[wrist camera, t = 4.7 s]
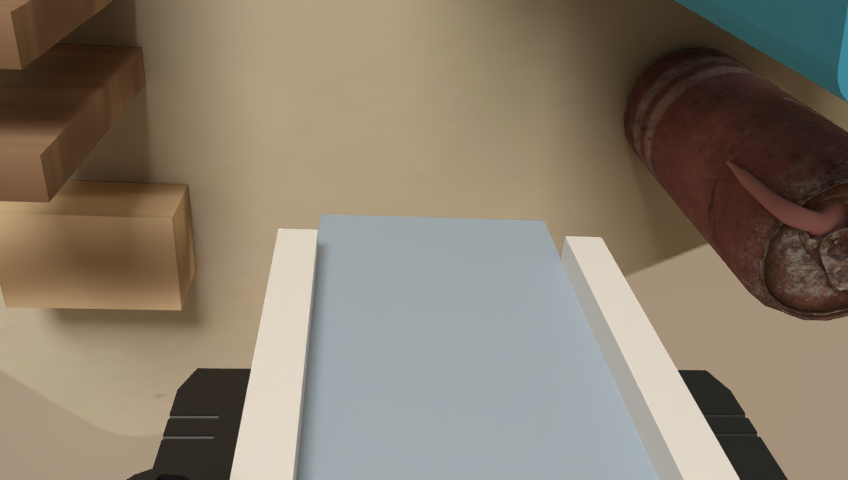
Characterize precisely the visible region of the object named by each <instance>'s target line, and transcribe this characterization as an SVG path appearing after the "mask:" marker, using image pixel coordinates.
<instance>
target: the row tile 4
mask: <svg viewBox="0 0 848 480" xmlns="http://www.w3.org/2000/svg"><path fill="white" fill-rule="evenodd" d="M112 1H114V0H0V69H18V70H22V69H23V68H25V67H26V66H27V65H29V64H30V63H31V62H33V61H34V60H35V59H37V58H38V57H39V56H41V55H42V54H43V53H45V52H46V51H47V50H48V49H50V48H51V47H52V46H54V45H55V44H56V43H58V42H59V41H60V40H62V39H63V38H64V37H66V36H67V35H68V34H70V33H71V32H72V31H74V30H75V29H76V28H78V27H79V26H80V25H82V24H83V23H84V22H86V21H87V20H88V19H90V18H91V17H92V16H94V15H95V14H96V13H98V12H99V11H100V10H102V9H103V8H104V7H106V6H107V5H108V4H110V3H111V2H112Z"/></svg>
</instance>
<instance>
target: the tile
mask: <svg viewBox="0 0 848 480" xmlns="http://www.w3.org/2000/svg"><path fill="white" fill-rule="evenodd" d="M296 480H659V478H658V476H657V474H656V472H655V469H654V467H653V465H652V463H651V461H650V458H649V456H648V454H647V452H646V449H645V447H644V445H643V443H642V441H641V438H640V436H639V434H638V432H637V430H636V427H635V425H634V423H633V421H632V418H631V416H630V414H629V412H628V410H627V407H626V405H625V403H624V401H623V398H622V396H621V394H620V392H619V390H618V387H617V385H616V383H615V381H614V378H613V376H612V374H611V372H610V370H609V367H608V365H607V363H606V361H605V358H604V356H603V354H602V352H601V350H600V347H599V345H598V343H597V341H596V339H595V336H594V334H593V332H592V330H591V327H590V325H589V323H588V321H587V319H586V316H585V314H584V312H583V310H582V307H581V305H580V303H579V301H578V299H577V296H576V294H575V292H574V290H573V287H572V285H571V283H570V281H569V279H568V276H567V274H566V272H565V270H564V268H563V265H562V263H561V257H560V255H559V253H558V250H557V248H556V246H555V244H554V242H553V239H552V237H551V235H550V233H549V231H548V228H547V226H546V224H545V222H544V221H538V220H504V219H469V218H435V217H401V216H367V215H332V214H320V223H319V233H318V258H317V268H316V279H315V289H314V300H313V310H312V321H311V331H310V342H309V353H308V363H307V374H306V384H305V395H304V405H303V416H302V426H301V437H300V447H299V458H298V468H297V479H296Z"/></svg>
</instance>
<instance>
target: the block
mask: <svg viewBox="0 0 848 480" xmlns="http://www.w3.org/2000/svg"><path fill="white" fill-rule="evenodd" d="M674 1H676V2H677V3H679V4H681V5H682V6H684V7H686V8H688V9H689V10H691V11H693V12H694V13H696V14H698V15H700V16H701V17H703V18H705V19H706V20H708V21H710V22H711V23H713V24H715V25H717V26H718V27H720V28H722V29H723V30H725V31H727V32H729V33H730V34H732V35H734V36H735V37H737V38H739V39H741V40H742V41H744V42H746V43H747V44H749V45H751V46H752V47H754V48H756V49H758V50H759V51H761V52H763V53H764V54H766V55H768V56H770V57H771V58H773V59H775V60H776V61H778V62H780V63H781V64H783V65H785V66H787V67H788V68H790V69H792V70H793V71H795V72H797V73H799V74H800V75H802V76H804V77H805V78H807V79H809V80H811V81H812V82H814V83H816V84H817V85H819V86H821V87H822V88H824V89H826V90H828V91H829V92H831V93H833V94H834V95H836V96H838V97H840V98H841V99H843V100H845V101H846V102H848V0H674Z"/></svg>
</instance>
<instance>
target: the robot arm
mask: <svg viewBox="0 0 848 480" xmlns="http://www.w3.org/2000/svg"><path fill="white" fill-rule="evenodd" d="M317 258H318V230H310V229H278V234H277V240H276V245H275V250H274V255H273V260H272V265H271V270H270V275H269V281H268V286H267V291H266V296H265V301H264V306H263V311H262V316H261V321H260V327H259V332H258V337H257V342H256V347H255V352H254V357H253V362H252V368H251V369H207V368H197V370H196V371H195V372H194V373H193V374H192V375H191V376H190V377H189V378H188V379H187V380H186V381H185V382H184V383H183V385H182V386H181V387H180V388H179V389H178V390H177V393H176V396H175V400H174V403H173V406H172V409H171V412H170V419H168V422H167V425H166V428H165V431H164V434H163V440H162V441H161V444H160V447H159V451H158V454H157V457H156V460H155V463H154V466H153V469H150V470H147V471H144V472H141V473H139V474H135V475H134V476H132V477H130V478H129V479H127V480H296V479H297V468H298V458H299V447H300V437H301V426H302V416H303V405H304V395H305V384H306V374H307V363H308V353H309V342H310V331H311V321H312V310H313V300H314V289H315V279H316V268H317ZM561 263H562V265H563V268H564V270H565V272H566V274H567V276H568V279H569V281H570V283H571V285H572V287H573V290H574V292H575V294H576V296H577V299H578V301H579V303H580V305H581V307H582V310H583V312H584V314H585V316H586V319H587V321H588V323H589V325H590V327H591V330H592V332H593V334H594V336H595V339H596V341H597V343H598V345H599V347H600V350H601V352H602V354H603V356H604V358H605V361H606V363H607V365H608V367H609V370H610V372H611V374H612V376H613V378H614V381H615V383H616V385H617V387H618V390H619V392H620V394H621V396H622V398H623V401H624V403H625V405H626V407H627V410H628V412H629V414H630V416H631V418H632V421H633V423H634V425H635V427H636V430H637V432H638V434H639V436H640V438H641V441H642V443H643V445H644V447H645V449H646V452H647V454H648V456H649V458H650V461H651V463H652V465H653V467H654V469H655V472H656V474H657V476H658V478H659V480H788V479H787V478H786V476H785V475H784V473H783V472H782V470H781V468H780V467H779V465H778V464H777V462H776V461H775V459H774V458H773V456H772V455H771V453H770V451H769V450H768V448H767V447H766V445H765V444H764V442H763V441H762V439H761V438H760V437H758V436H757V431H756V430H755V428H754V427H753V425H752V424H751V422H750V420H749V419H748V418H745V413H744V411H743V409H742V408H741V407H740V405H739V403H738V402H737V400H736V399H735V397H734V395H733V394H732V393H731V391H730V390H729V389H728V388H727V387H725V386H724V385H723V384H722V383H721V382H719V381H718V380H717V379H716V378H714V377H713V376H712V375H711V374H710V373H709V372H707V371H705V370H704V371H703V370H702V371H701V370H677V369H676V367H675V365H674V363H673V362H672V360H671V358H670V356H669V355H668V353H667V351H666V349H665V348H664V346H663V344H662V343H661V341H660V339H659V337H658V336H657V334H656V332H655V330H654V328H653V327H652V325H651V323H650V321H649V320H648V318H647V316H646V314H645V313H644V311H643V310H642V307H641V306H640V304H639V302H638V300H637V299H636V297H635V296H634V293H633V292H632V290H631V288H630V286H629V285H628V283H627V281H626V279H625V278H624V276H623V274H622V272H621V271H620V269H619V267H618V265H617V264H616V262H615V260H614V258H613V257H612V255H611V253H610V251H609V250H608V248H607V246H606V244H605V243H604V241H603V239H602V237H572V236H565V240H564V245H563V250H562V256H561Z"/></svg>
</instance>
